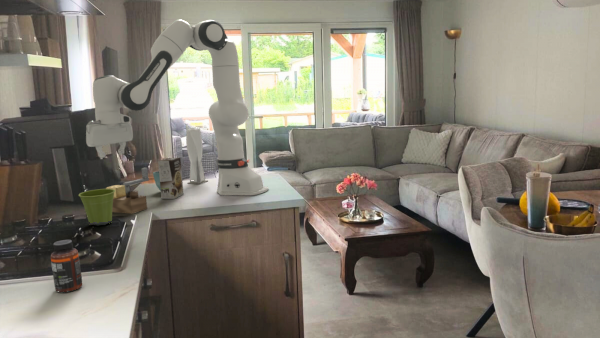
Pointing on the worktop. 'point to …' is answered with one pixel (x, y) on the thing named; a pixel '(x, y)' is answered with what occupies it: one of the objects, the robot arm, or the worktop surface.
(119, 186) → the pale yellow block
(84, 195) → the plant pot
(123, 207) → the plane body
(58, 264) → the supplement bottle
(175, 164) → the coffee box
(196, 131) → the skyscraper
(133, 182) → the cam lever
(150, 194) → the worktop surface
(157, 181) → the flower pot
